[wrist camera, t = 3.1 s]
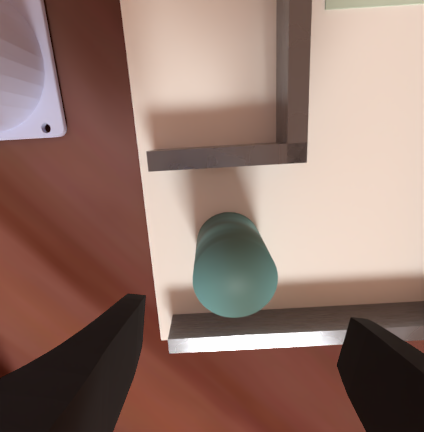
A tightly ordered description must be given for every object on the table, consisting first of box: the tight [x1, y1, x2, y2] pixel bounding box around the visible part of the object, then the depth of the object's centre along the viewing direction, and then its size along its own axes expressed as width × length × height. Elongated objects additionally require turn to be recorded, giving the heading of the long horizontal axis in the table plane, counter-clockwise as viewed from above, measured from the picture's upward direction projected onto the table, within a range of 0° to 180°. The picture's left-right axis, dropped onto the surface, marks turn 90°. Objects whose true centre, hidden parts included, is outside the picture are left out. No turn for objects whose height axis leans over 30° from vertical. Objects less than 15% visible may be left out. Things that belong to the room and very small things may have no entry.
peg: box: [193, 212, 278, 318], centre depth 16 cm, size 4×4×5 cm
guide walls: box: [146, 0, 424, 353], centre depth 15 cm, size 19×26×2 cm
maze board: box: [120, 0, 424, 340], centre depth 17 cm, size 20×28×1 cm
